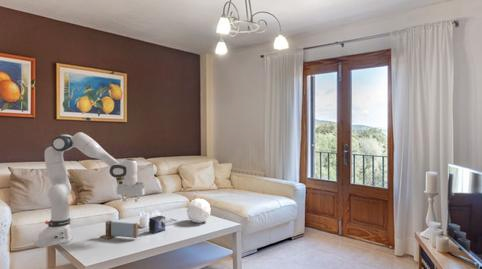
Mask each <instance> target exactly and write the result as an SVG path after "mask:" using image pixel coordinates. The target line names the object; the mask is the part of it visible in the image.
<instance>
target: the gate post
mask: <svg viewBox="0 0 482 269" xmlns="http://www.w3.org/2000/svg"><path fill="white" fill-rule="evenodd" d="M112 221H113V220H106V221H105V234H102V235H100V236H99V237H100V238H101V239H104V240H106V241H107V240H110V239H111V240H112V239H115V238H117V237H118V236H111V222H112Z"/></svg>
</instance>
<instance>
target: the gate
mask: <svg viewBox="0 0 482 269" xmlns="http://www.w3.org/2000/svg"><path fill="white" fill-rule="evenodd" d="M111 221H112V222H111V236H117V237H121V238H131V239H138V237H139V223H138V222H128V221H127V222H125V221H113V220H111Z"/></svg>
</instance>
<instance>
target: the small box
mask: <svg viewBox="0 0 482 269" xmlns="http://www.w3.org/2000/svg"><path fill="white" fill-rule="evenodd" d="M148 220H149V221H148V222H149V223H148V225H149V226H148V227H149V228H148V233H150V234H154V235H156V234H158V233H162V232H164V231H166V216H163V215H162V214H161V215H156V216H153V217H149V219H148Z"/></svg>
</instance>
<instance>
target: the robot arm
mask: <svg viewBox="0 0 482 269" xmlns="http://www.w3.org/2000/svg"><path fill="white" fill-rule="evenodd" d="M73 148H76V149H78V150H79V151H80V152H81V153H82V154H84V155H85V156H87V157H89V158H93V159H98V160H100V161H102V162H104V163H105V164H106V165H107V166H108V167H110V168H109V171H108V172H109V174H110V176H111V177H113V178H115V179H116V178H117V179H118V178H121V177H123V179H121V180H118V181H117V186H116V194H117V195H119V196H121V198H122V201H123V202H127V198H126V197H125V196H136V199H134V203H138V202H139V199H140V197H143V196H145V194H146V193H145V190H146V189H145V184H144V183H143V182H142V181H141V182H139V181H138V162H137V160H136V159H134V158H125V159H124V160H122V161H120V160H117V159H116V158H115V157H114V156H112V155H110V154H109V153H108V152H107V151H106V150H105V149H104V148H103V147H102V146H101V145H100V144H99V143H98V142H97V141H96V140H94V139H93V138H92V137H90V136H89V135H88V134H86V133H84V132H82V131H79V132H76V133H75V134H74V135H72V134H67V133H65V134H63V133H62V134H60V135H57V136H55V137H53V138H52V140H51V146H49V147H48V146H47V148H46V149H44V163H45V168H46V173H47V177H48V178H49V181H50V183H51V186H50V187H49V189H48V192H47V196H48V199H49V204H50V220H49V221H48V220H45V222H44V224H46V225H48V226H47V227H45V229H42V231H41V232H40V233H39V234H38V236H37V238H38V239H37V240H36V241H34V242H33V245H34V246H36V247H38V248H48V247H52V246H56V245H57V246H58V245H62V244H65V243H69V242H70V241H71V240H72V239H73V236H72V233H71V217H70V203H69V199H68V198H69V197H68V195H69V194H70V193H71V192H72V185H71V183H70V179H69V177H68V174H67V169H66V164H65V159H64V153H65V152H68V151H70V150H72V149H73Z"/></svg>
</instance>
